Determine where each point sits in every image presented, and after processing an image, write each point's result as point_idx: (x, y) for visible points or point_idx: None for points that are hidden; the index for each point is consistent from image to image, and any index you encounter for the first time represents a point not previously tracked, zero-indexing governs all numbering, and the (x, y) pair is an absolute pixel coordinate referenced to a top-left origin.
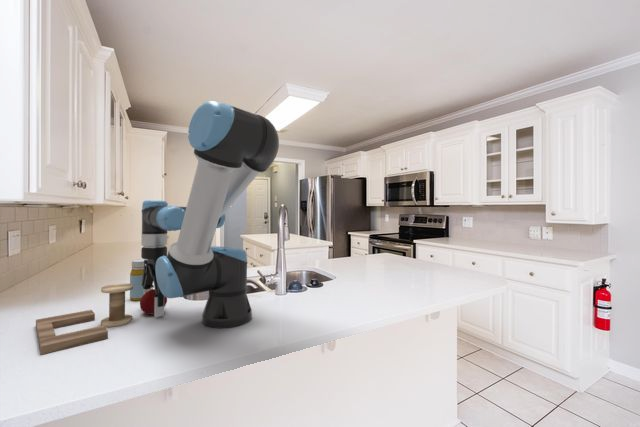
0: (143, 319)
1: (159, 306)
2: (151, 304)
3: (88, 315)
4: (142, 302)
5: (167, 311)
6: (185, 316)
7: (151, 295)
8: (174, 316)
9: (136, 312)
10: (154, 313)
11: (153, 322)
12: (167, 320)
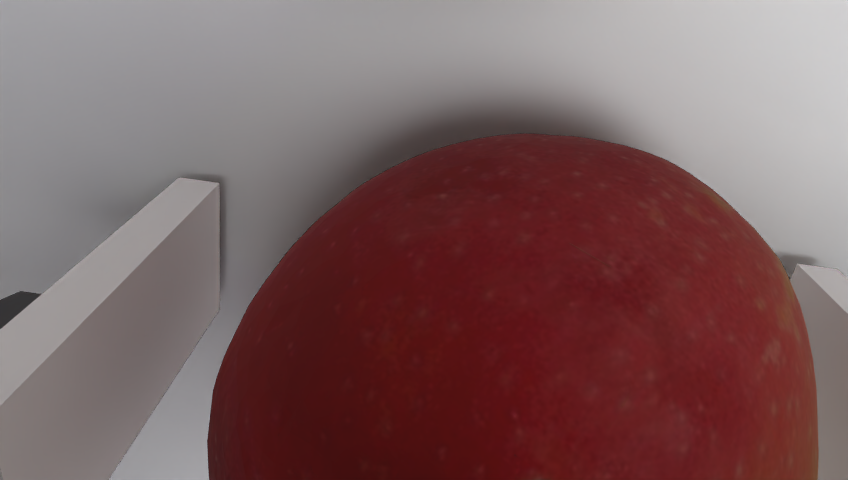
0: (309, 38)
1: (10, 310)
2: (274, 272)
3: None
4: (491, 176)
5: None
6: None
7: (296, 432)
8: None
9: (802, 123)
10: (190, 203)
11: (39, 80)
12: (2, 250)
